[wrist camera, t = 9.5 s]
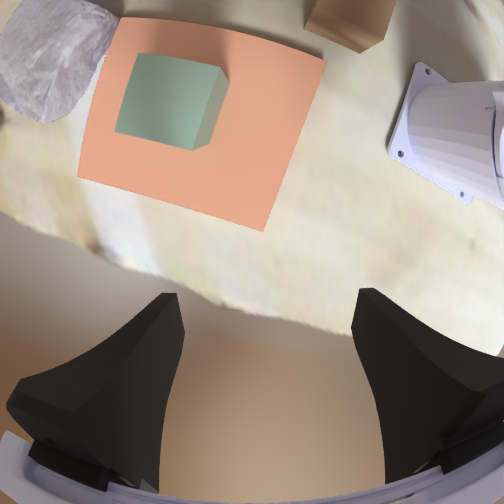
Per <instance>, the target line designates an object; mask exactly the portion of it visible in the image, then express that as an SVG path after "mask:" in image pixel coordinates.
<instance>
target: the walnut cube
mask: <svg viewBox="0 0 504 504" xmlns="http://www.w3.org/2000/svg"><path fill="white" fill-rule="evenodd" d="M395 2H396V0H316V1H315V4H314V6H313V8H312V11H311V13H310V15H309V18H308V20H307V22H306V25H305V27H304V29H305V30H308V31H310V32H313V33H315V34H318V35H320V36H323V37H325V38H327V39H330V40H332V41H334V42H336V43H339V44H341V45H343V46H345V47H347V48H349V49H351V50H353V51H355V52H357V53H359V54H360V53H362V52H363V51H365V50H367V49H368V48H370V47H372V46H374V45H375V44H377V43H379V42H381V41H382V40H384V37H385V34H386V31H387V28H388V25H389V22H390V18H391V15H392V12H393V9H394V5H395Z"/></svg>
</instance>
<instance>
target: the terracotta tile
mask: <svg viewBox="0 0 504 504" xmlns="http://www.w3.org/2000/svg"><path fill="white" fill-rule="evenodd" d="M138 53H146V54H154V55H161V56H168V57H174V58H180V59H185V60H190V61H195V62H200V63H205V64H209V65H214V66H218V67H221V69H222V71H223V72H224V74H225V76H226V78H227V79H228V81H229V83H230V85H229V88H228V91H227V93H226V96H225V99H224V102H223V105H222V107H221V110H220V113H219V116H218V119H217V122H216V125H215V128H214V131H213V134H212V137H211V140H210V143H209V144H208V145H206V146H203V147H201V148H198V149H196V150H193V151H190V150H186V149H182V148H179V147H175V146H171V145H167V144H163V143H159V142H155V141H151V140H147V139H143V138H139V137H134V136H130V135H125V134H121V133H116V132H114V131H115V126H116V122H117V119H118V115H119V111H120V107H121V104H122V100H123V97H124V94H125V90H126V87H127V84H128V81H129V78H130V75H131V72H132V69H133V66H134V63H135V61H136V58H137V55H138ZM326 63H327V61H324V60H322V59H320V58H317V57H315V56H312V55H310V54H307V53H304V52H302V51H299V50H296V49H294V48H291V47H288V46H285V45H282V44H279V43H276V42H273V41H269V40H266V39H263V38H259V37H256V36H252V35H248V34H244V33H240V32H236V31H232V30H227V29H223V28H218V27H213V26H208V25H202V24H196V23H189V22H182V21H174V20H164V19H153V18H133V17H122V18H121V20H120V22H119V24H118V27H117V29H116V31H115V34H114V36H113V39H112V41H111V44H110V46H109V49H108V52H107V54H106V57H105V60H104V63H103V66H102V69H101V72H100V75H99V78H98V82H97V85H96V88H95V92H94V95H93V99H92V103H91V107H90V111H89V115H88V119H87V124H86V128H85V133H84V138H83V143H82V149H81V155H80V161H79V167H78V175H77V177H80V178H84V179H87V180H91V181H95V182H98V183H102V184H105V185H109V186H113V187H116V188H120V189H123V190H127V191H130V192H134V193H137V194H141V195H144V196H147V197H151V198H154V199H158V200H161V201H164V202H168V203H171V204H174V205H178V206H181V207H184V208H188V209H191V210H194V211H198V212H201V213H204V214H207V215H211V216H214V217H217V218H220V219H224V220H227V221H230V222H233V223H236V224H240V225H243V226H246V227H249V228H252V229H255V230H259V231H262V232H263V231H264V228H265V225H266V223H267V220H268V217H269V215H270V212H271V209H272V207H273V204H274V202H275V199H276V196H277V194H278V191H279V188H280V186H281V183H282V180H283V178H284V175H285V172H286V170H287V167H288V165H289V162H290V159H291V157H292V154H293V151H294V149H295V146H296V143H297V141H298V138H299V135H300V133H301V130H302V127H303V125H304V122H305V119H306V117H307V114H308V111H309V109H310V106H311V103H312V101H313V98H314V95H315V93H316V90H317V87H318V85H319V82H320V79H321V77H322V74H323V71H324V69H325V66H326Z"/></svg>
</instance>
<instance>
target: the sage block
mask: <svg viewBox="0 0 504 504" xmlns="http://www.w3.org/2000/svg"><path fill="white" fill-rule="evenodd" d="M229 85H230V83H229V81H228V79H227V78H226V76H225V74H224V72H223V71H222V69H221V67H218V66H214V65H209V64H205V63H200V62H195V61H190V60H185V59H180V58H174V57H168V56H161V55H154V54H146V53H138V55H137V58H136V61H135V63H134V66H133V69H132V72H131V75H130V78H129V81H128V84H127V87H126V90H125V94H124V97H123V100H122V104H121V107H120V111H119V115H118V119H117V122H116V126H115V131H114V132H116V133H121V134H125V135H130V136H134V137H139V138H143V139H147V140H151V141H155V142H159V143H163V144H167V145H171V146H175V147H179V148H182V149H186V150H190V151H193V150H196V149H198V148H201V147H203V146H206V145H208V144H209V143H210V140H211V137H212V134H213V131H214V128H215V125H216V122H217V119H218V116H219V113H220V110H221V107H222V105H223V102H224V99H225V96H226V93H227V91H228V88H229Z"/></svg>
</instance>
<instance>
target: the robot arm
mask: <svg viewBox="0 0 504 504" xmlns="http://www.w3.org/2000/svg"><path fill="white" fill-rule="evenodd" d="M425 70H427V71H428V75H427V73H426V72H425ZM399 151H401V156H400V157H399V156H398V152H399ZM387 153H388V155H389V156H390V157H392V158H394V159H396V160H397V161H399V162H401V163H403V164H405V165H406V166H408V167H410V168H411V169H413V170H415V171H416V172H418V173H420V174H421V175H423V176H425V177H426V178H428V179H429V180H431V181H432V182H434V183H436V184H437V185H439V186H440V187H442V188H443V189H445V190H446V191H448V192H449V193H451V194H452V195H453V196H455V197H456V198H458V199H459V200H461V201H462V202H463V203H465V204H467V205H469V204H471V202H472V200H473V197H474V196H476V197H478V198H480V199H482V200H484V201H486V202H488V203H490V204H492V205H494V206H496V207H498V208H500V209H502V210H504V81H473V82H457V83H450V82H449V81H448V80H446V79H445V78H444V77H443V76H441V75H440V74H439V73H437V72H436V71H435V70H433V69H432V68H431V67H429V66H428V65H426V64H425V63H423V62H417V63H416V64H415V67H414V71H413V74H412V77H411V81H410V84H409V87H408V90H407V93H406V96H405V99H404V102H403V105H402V108H401V111H400V114H399V117H398V120H397V123H396V125H395V128H394V131H393V134H392V136H391V139H390V142H389V144H388V147H387ZM461 192H462V194H461V196H460V193H461ZM351 330H352V335H353V339H354V343H355V347H356V350H357V352H358V355H359V358H360V360H361V363H362V366H363V368H364V370H365V373H366V376H367V378H368V381H369V384H370V386H371V389H372V392H373V395H374V398H375V402H376V407H377V411H378V416H379V421H380V427H381V433H382V440H383V448H384V459H385V485H382V486H378V487H375V488H371V489H367V490H363V491H358V492H354V493H349V494H344V495H338V496H333V497H327V498H321V499H312V500H304V501H294V502H280V503H225V502H210V501H201V500H192V499H184V498H178V497H172V496H165V495H161V494H158V493H159V464H160V450H161V439H162V431H163V423H164V417H165V410H166V405H167V401H168V397H169V393H170V390H171V386H172V383H173V380H174V377H175V373H176V370H177V367H178V363H179V360H180V357H181V352H182V347H183V341H184V335H185V331H184V327H183V322H182V317H181V312H180V308H179V303H178V298H177V293H161V294H160V295H159V296H158V297H156V298H155V299H154V300H153V301H152V302H151V303H150V304H149V305H147V306H146V307H145V308H144V309H143V310H142V311H141V312H139V313H138V314H137V315H136V316H135V317H134V318H133V319H131V320H130V321H129V322H128V323H127V324H125V325H124V326H123V327H122V328H120V329H119V330H118V331H117V332H116V333H114V334H113V335H111V336H110V337H109V338H107V339H106V340H104V341H103V342H102V343H100V344H98V345H97V346H96V347H94V348H92V349H91V350H89V351H87V352H85V353H84V354H82V355H80V356H78V357H76V358H74V359H73V360H71V361H69V362H67V363H64V364H62V365H60V366H58V367H55V368H53V369H51V370H48V371H45V372H42V373H39V374H36V375H33V376H29V377H26V378H22V379H20V381H19V382H18V384H17V386H16V387H15V389H14V390H13V392H12V394H11V396H10V397H9V399H8V401H7V403H6V408H7V411H8V412H9V414H10V415H11V416H12V418H14V420H15V421H16V422H17V423H18V424H19V425H20V426H21V427H22V428H23V429H24V430H25V431H26V432H27V433H28V434H29V435H30V436H31V437H32V438H33V439H34V442H33V444H32V445H31V444H29V443H27V442H26V441H25V440H23V439H21V438H20V437H18V436H16V435H14V434H13V433H11V432H9V431H5V434H4V436H3V438H2V440H1V442H0V489H1V490H2V491H3V492H4V493H6V494H7V495H8V496H10V497H11V498H12V499H13V500H15V501H16V502H17V503H19V504H390V503H393V502H396V501H399V500H402V499H405V498H406V499H405V500H402V501H400V502H397V503H395V504H493V503H495V502H496V501H497V500H498V499H499V498H500V497H502V496H503V495H504V422H503V420H504V358H500V357H496V356H492V355H489V354H486V353H483V352H480V351H477V350H474V349H472V348H469V347H467V346H465V345H462V344H460V343H458V342H456V341H454V340H452V339H450V338H448V337H446V336H444V335H442V334H441V333H439V332H437V331H435V330H434V329H432V328H430V327H429V326H427V325H426V324H424V323H423V322H421V321H419V320H418V319H416V318H415V317H414V316H412V315H411V314H409V313H408V312H407V311H405V310H404V309H402V308H401V307H400V306H398V305H397V304H396V303H394V302H393V301H392V300H390V299H389V298H388V297H386V296H385V295H383V294H382V293H381V292H379V291H378V290H376V289H374V288H360V289H359V293H358V298H357V303H356V308H355V312H354V317H353V321H352V325H351Z"/></svg>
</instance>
